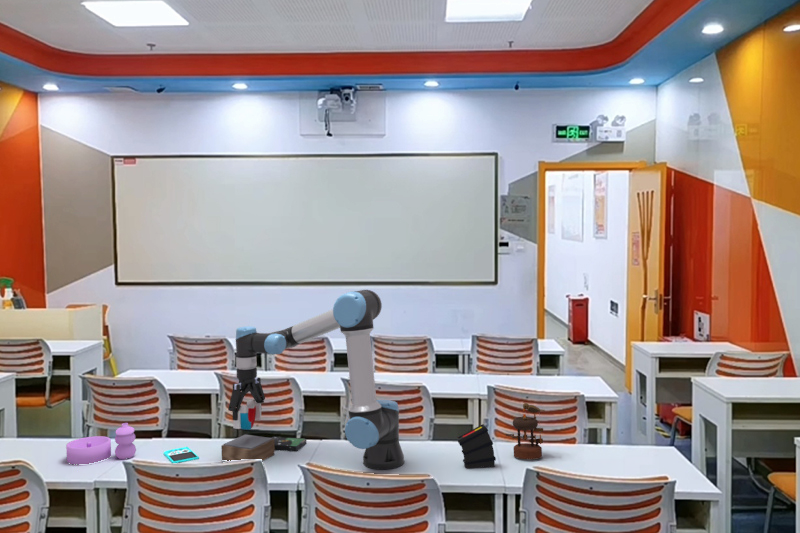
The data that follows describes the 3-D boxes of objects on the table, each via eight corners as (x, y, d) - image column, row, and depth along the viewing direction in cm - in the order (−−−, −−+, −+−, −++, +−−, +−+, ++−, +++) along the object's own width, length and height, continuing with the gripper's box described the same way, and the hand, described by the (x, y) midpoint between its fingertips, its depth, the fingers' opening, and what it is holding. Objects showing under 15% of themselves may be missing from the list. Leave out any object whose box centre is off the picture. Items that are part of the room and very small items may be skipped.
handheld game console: (188, 449, 254) (188, 445, 254) (200, 460, 241) (200, 456, 240) (162, 454, 248) (162, 450, 248) (173, 465, 235) (173, 462, 235)
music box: (541, 451, 244) (541, 400, 243) (549, 461, 233) (549, 407, 232) (502, 452, 243) (502, 401, 242) (508, 462, 232) (508, 408, 231)
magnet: (246, 433, 234) (245, 407, 234) (238, 433, 235) (238, 406, 234) (256, 424, 246) (255, 399, 246) (249, 424, 246) (249, 399, 246)
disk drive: (262, 451, 251) (297, 452, 247) (262, 444, 250) (297, 445, 247) (273, 443, 261) (307, 444, 257) (273, 436, 261) (306, 437, 257)
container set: (59, 466, 235) (58, 431, 234) (77, 452, 250) (76, 419, 249) (128, 463, 236) (127, 429, 236) (142, 450, 252) (141, 417, 251)
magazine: (504, 462, 227) (486, 426, 226) (471, 479, 226) (453, 443, 225) (501, 459, 231) (483, 423, 230) (469, 475, 230) (451, 440, 229)
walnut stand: (274, 454, 244) (274, 438, 244) (252, 466, 231) (251, 448, 231) (245, 450, 250) (245, 433, 250) (221, 461, 237) (221, 444, 237)
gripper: (233, 374, 227) (235, 433, 228) (273, 362, 249) (274, 416, 250) (217, 372, 230) (218, 431, 231) (258, 361, 252) (259, 414, 253)
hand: (247, 424), depth 240 cm, fingers closed on magnet, 12 cm apart
